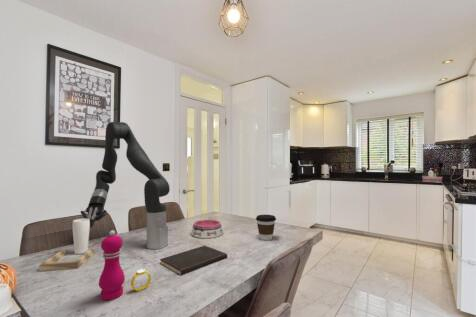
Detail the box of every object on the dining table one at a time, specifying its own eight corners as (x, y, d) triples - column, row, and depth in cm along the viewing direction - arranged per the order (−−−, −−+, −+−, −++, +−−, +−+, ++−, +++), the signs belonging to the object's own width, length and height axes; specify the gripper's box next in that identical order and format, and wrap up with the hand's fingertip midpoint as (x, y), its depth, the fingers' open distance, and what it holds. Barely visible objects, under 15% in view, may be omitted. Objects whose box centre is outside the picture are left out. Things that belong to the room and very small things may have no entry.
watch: (133, 294, 77) (132, 276, 77) (130, 291, 79) (129, 273, 79) (152, 286, 81) (151, 269, 81) (149, 283, 83) (147, 266, 83)
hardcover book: (159, 264, 100) (159, 259, 100) (204, 250, 117) (204, 245, 117) (181, 277, 89) (180, 270, 89) (227, 259, 105) (227, 253, 105)
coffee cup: (253, 240, 128) (253, 217, 129) (259, 235, 138) (259, 213, 139) (273, 243, 124) (273, 219, 124) (278, 237, 134) (278, 215, 135)
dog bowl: (229, 232, 145) (229, 221, 145) (209, 241, 129) (209, 228, 129) (205, 228, 155) (205, 217, 155) (184, 236, 139) (184, 223, 139)
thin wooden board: (62, 255, 110) (62, 250, 110) (94, 253, 112) (94, 247, 113) (39, 271, 94) (39, 265, 94) (78, 268, 96) (78, 262, 96)
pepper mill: (105, 289, 80) (105, 227, 80) (128, 288, 80) (128, 227, 81) (94, 302, 72) (94, 234, 73) (119, 300, 73) (119, 233, 73)
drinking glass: (81, 255, 110) (81, 222, 110) (68, 254, 111) (68, 221, 111) (93, 250, 116) (93, 218, 116) (81, 249, 118) (81, 218, 118)
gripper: (83, 195, 131) (71, 224, 119) (109, 194, 134) (101, 222, 121) (87, 203, 136) (76, 232, 124) (112, 203, 139) (105, 230, 126)
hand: (89, 227), depth 123 cm, fingers closed
